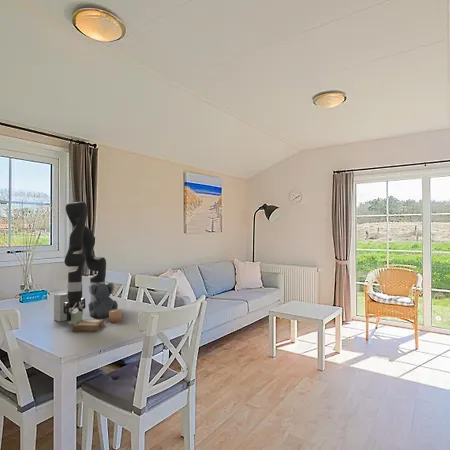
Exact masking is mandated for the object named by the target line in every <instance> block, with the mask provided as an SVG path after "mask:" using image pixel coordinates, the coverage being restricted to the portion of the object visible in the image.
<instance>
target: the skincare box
mask: <svg viewBox="0 0 450 450" xmlns="http://www.w3.org/2000/svg"><path fill="white" fill-rule="evenodd" d="M68 301H69V299H68V298H67V292H61V293H56V294H53V320H54V321H56V322H63V321H67V315H66V314H64V313H63V309H64V302H68Z"/></svg>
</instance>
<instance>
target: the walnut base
mask: <svg viewBox="0 0 450 450" xmlns="http://www.w3.org/2000/svg"><path fill="white" fill-rule="evenodd" d="M104 325H105V319H102V318H101V319H82V320H80V321H79V322H78V323H76V324H75V325H74V324H72V333H93V332H95V333H97V332H98V331H99V330H100V329H101V328H103V326H104Z"/></svg>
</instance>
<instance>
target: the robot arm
mask: <svg viewBox="0 0 450 450" xmlns="http://www.w3.org/2000/svg"><path fill="white" fill-rule="evenodd" d="M65 212H66V216H67V218H68V220H69V221H70V223H71V225H72V227H73V229H72V231H71V232H70V234H69V240H68V241H69V243H68V248H67V249H68V250H67V252H66V254H65V257H64V264H65V266H66V267H70V268H71V267H78V268H77V269H74V270H70V271H69V272H67V292H66V293H67V298H68V299H69V301H68V302H64V309H63V313H64V314H66V315H67V320H66V321H67V322H68V321H71V312H73V311H75V309H78V310H77V311H81V312H82V316H83V313H84V312H83V311H84V309H86V298H85V297H83V283H82V282H83V270H84V265H85V263H86V266H87V268H88V270H89V271H91V272H97V274H96V275H93V276H91V277H89V278H90V279H89V285H93V284H94V285H96V286H98V285H99V284H106V276H107V275H106V274H107V273H106V272H107V259H106V258H105V257H102V256H94V255H93V249H94V247H95V244H96V238H95V236H94V233H93V231H92V230H91V229H90V228H89V227H87V226H86V223H87V222H86V221H87V217H88V206H87V203H86V202H85V201H76V202H75V201H74V202H68V203H67V204H66V205H65ZM81 250H82V252H83V253H77V252H80V251H81ZM94 300H97V299H96V298H95V296H94V295H92V294H90V293H89V303H90V302H93V301H94Z"/></svg>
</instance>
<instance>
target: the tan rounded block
mask: <svg viewBox="0 0 450 450" xmlns="http://www.w3.org/2000/svg"><path fill="white" fill-rule="evenodd" d="M122 321H123V309H119V308H117V309H113V310H110V311H109V316H108V323H110V324H115V323H116V324H118V323H121V322H122Z"/></svg>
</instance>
